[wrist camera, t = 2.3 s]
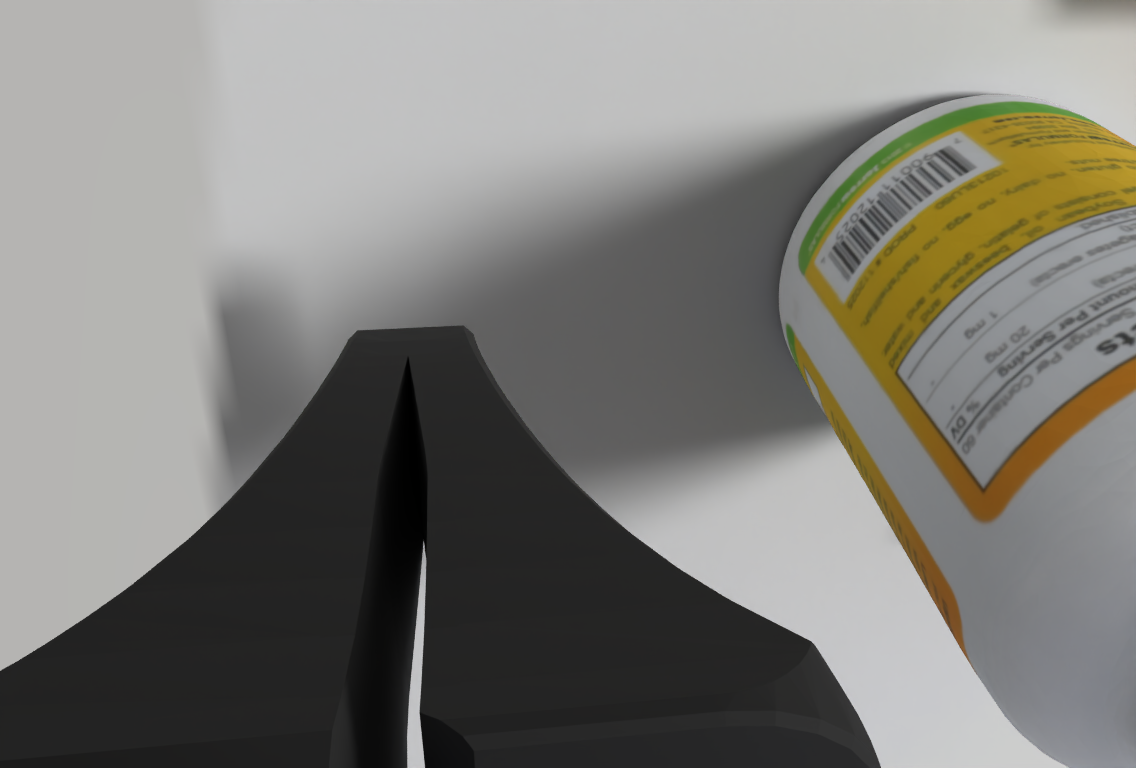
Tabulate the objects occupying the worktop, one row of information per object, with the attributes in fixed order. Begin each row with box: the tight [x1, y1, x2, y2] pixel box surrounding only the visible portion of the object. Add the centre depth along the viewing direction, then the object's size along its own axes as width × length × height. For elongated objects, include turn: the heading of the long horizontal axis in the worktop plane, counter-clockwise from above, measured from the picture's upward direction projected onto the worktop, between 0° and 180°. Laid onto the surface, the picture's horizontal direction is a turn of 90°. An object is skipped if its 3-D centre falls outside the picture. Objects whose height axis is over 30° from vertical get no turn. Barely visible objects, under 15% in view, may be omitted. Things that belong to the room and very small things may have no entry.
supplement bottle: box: [779, 94, 1136, 768], centre depth 11 cm, size 5×5×10 cm
